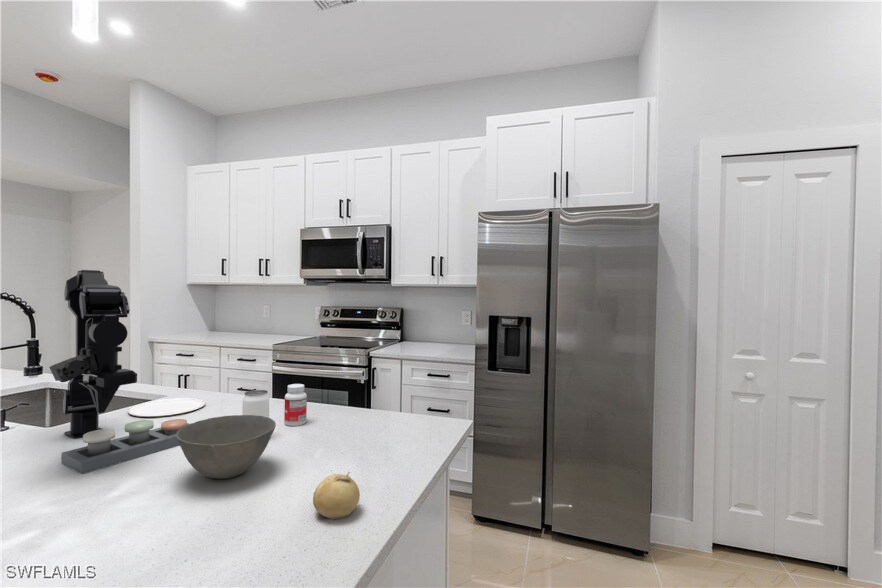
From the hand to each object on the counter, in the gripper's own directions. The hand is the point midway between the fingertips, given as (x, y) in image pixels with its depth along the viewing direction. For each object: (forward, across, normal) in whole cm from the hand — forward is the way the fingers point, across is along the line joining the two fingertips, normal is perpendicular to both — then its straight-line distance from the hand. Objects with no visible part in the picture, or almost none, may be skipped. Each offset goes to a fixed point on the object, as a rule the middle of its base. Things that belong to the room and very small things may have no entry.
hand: (101, 412), depth 94 cm
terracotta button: (+10, 0, +16) cm, 19 cm away
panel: (+11, 0, +8) cm, 13 cm away
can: (+11, +16, +28) cm, 34 cm away
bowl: (+11, +30, +10) cm, 34 cm away
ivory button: (+9, 0, 0) cm, 9 cm away
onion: (+11, +60, +11) cm, 62 cm away
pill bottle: (+11, +15, +42) cm, 46 cm away
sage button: (+9, 0, +8) cm, 12 cm away
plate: (+11, -30, +30) cm, 44 cm away
